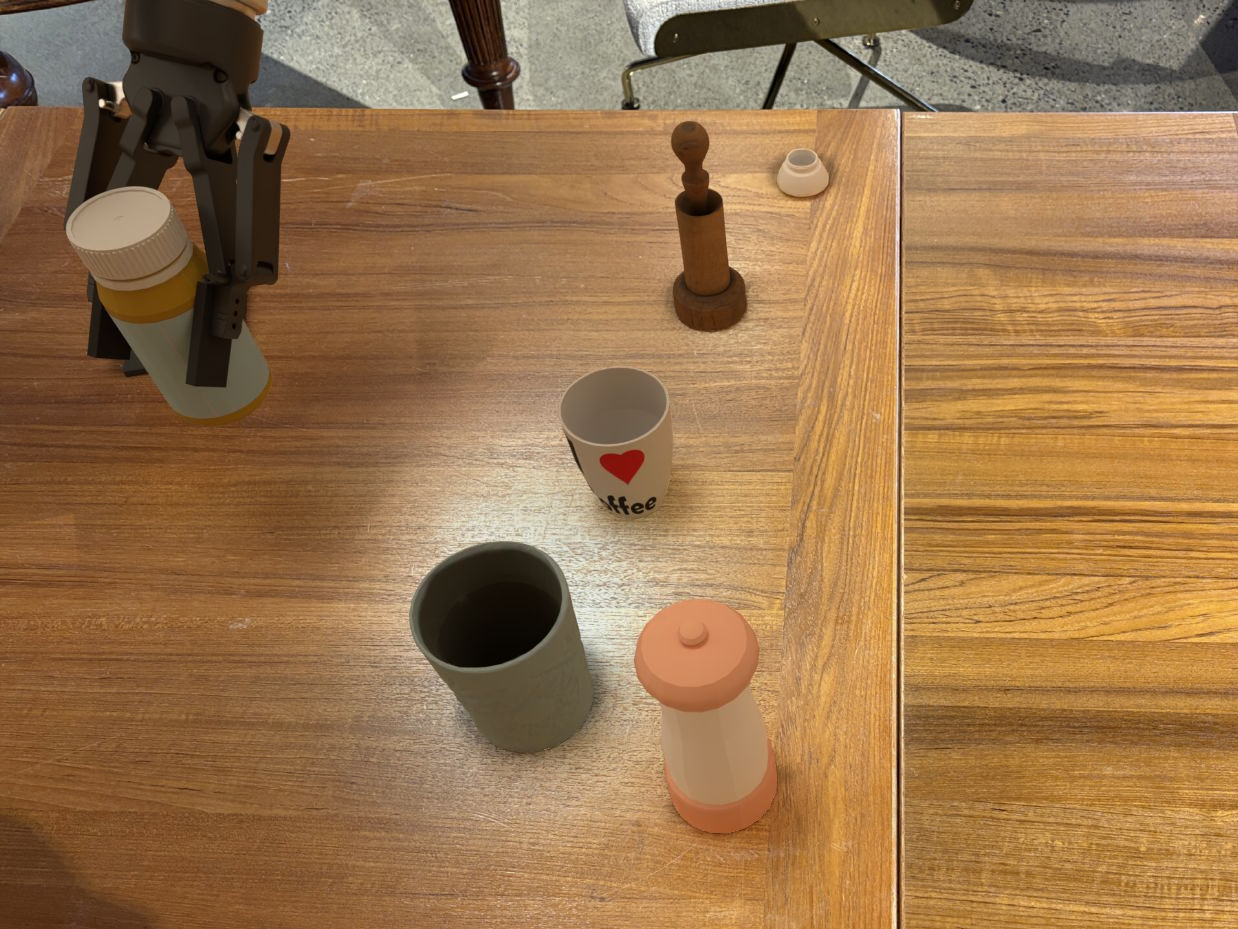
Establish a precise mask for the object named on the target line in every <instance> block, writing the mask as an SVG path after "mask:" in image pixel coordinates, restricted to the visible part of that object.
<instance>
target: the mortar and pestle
mask: <svg viewBox="0 0 1238 929" xmlns="http://www.w3.org/2000/svg"><path fill="white" fill-rule="evenodd" d="M709 136H710V135H709V134H708V132H707V129H706V128H705V127H704V126H703V125H702V124H700V122H697V121H694V120H686V121H682V122H680V123H679V124H677V125H676V126H675V128H674V129H673V131H672V133H671V136H670V146H671V149H672V152H673V153H674V155H675V156H676V157H677V159H678V160H679V161H680V162H681V163H682V165H683V166H684V171H683V173H682V174H681V176H680V180H681V183H682V186H683V189H684V190H683V191H681V192H680V193H679V194H677V196H676V197H675V199H674V208H675V216H676V221H677V226H678V228H677V229H678V234H679V242H680V249H681V257H682V265H683V271H682V272H680V273H679V274H678V275H677V276H676V277H675V279H674V281H673V284H672V297H673V305H674V310H675V314H676V316H677V317H678V319H679V320H680V321H681V322H682V323H683V324H684V325H685V326H688V327H689V328H692V329H694V330H698V331H704V332H713V331H720V330H724V329H727V328H730V327H732V326H734V325H736V324H737V323H739V322H740V321H741V320H742V319H743V317H744V316H745V314H746V312H747V309H748V301H747V291H746V289H747V288H746V282H745V280H744V277H743V276H742V274H740V272H739V271H738V270H736V269H735V268H733V267H731V266H730V263H729V253H728V244H727V233H726V220H725V209H724V200H723V197H722V195H721V194H720V193H719V192H718V191H716V190H714V189H712V188H709V187H710V173H709V172H708V171H707V170H706V169H704V168H703V164H704V161H705V159H706V157H707V155H708V152H709V149H710V137H709Z"/></svg>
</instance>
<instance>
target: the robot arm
mask: <svg viewBox="0 0 1238 929" xmlns="http://www.w3.org/2000/svg"><path fill="white" fill-rule="evenodd" d="M268 5H269V0H124V10H123V11H124V12H123V23H122V31H121V32H122V33H121V40H122V43H123V45H124V46H125V47H126V48H127V49H128V51H129V53H130V63H129V66H128V68H127V71H126V72H125V74H124V76H123V78H122V80H117V81H116V80H115V81H104V80H101V79H98V78H95V77H92V76H88V77H85V78H84V79H83V80H82V83H81V93H82V94H81V95H82V104H83V119H82V120H83V121H82V125H81V131H80V136H79V141H78V146H77V152H76V157H75V162H74V168H73V172H72V177H71V182H70V189H69V192H68V199H67V203H66V207H65V213H64V214H65V215H64V218H63V231H64V232H65V233H66V225H67V222H68V219H69V218H70V216H71V215H72V213H73V212H74V211H75V210H76V209H77V208H78V207H79V206H80V205H82V204H83V203H84V202H86V201H87V200H89V199H91V198H92V197H94V196H96V195H99V194H101V193H104V192H106V191H110V190H113V189H117V188H123V187H134V186H137V187H147V188H152V189H155V190H157V191H159V188H160V186H161V183H162V181H163V179H164V177H165V175H166V172H167V171H168V170H170V169H172V168H174V167H175V166H176V164H177V163H178V161H179V158H182V162H183V166H184V168H185V170H186V171H187V173H189V174H190V176H191V178H192V184H193V190H194V197H195V201H196V207H197V212H198V218H199V219H198V220H199V224H200V229H201V236H202V242H203V246H204V247H203V248H204V253H205V254H206V258H207V264H208V269H209V274H205V275H201V277H202V279H203V281H204V282H199V281H197V287H196V296H195V305H194V313H193V322H192V331H191V339H190V348H189V356H188V365H187V374H186V382H185V384H188V385H191V386H195V387H221V388H226V385H227V377H228V369H229V361H230V353H231V345H232V339H238V338H239V336H240V334H241V331H242V323H243V315H244V307H245V299H246V300H247V297H246V293H247V294H248V291H249V290H250V289H252V288H253V287H256V286H264V285H267V286H273V285H275V284H276V283H277V282H278V280H279V266H280V265H279V264H280V262H279V261H280V255H279V254H280V231H281V230H280V229H281V228H280V227H281V195H282V194H281V192H282V191H281V190H282V163H283V160H284V158H285V155H286V151H287V150H288V149H287V148H288V145H289V143H290V140H291V134H292V133H291V130H290V128H289V127H288V126H287V125H286V124H283V123H281V122H277V121H275V120H272V119H269V118H267V117H263V116H262V115H260V114H258V113H256V112H254V111H253V107H252V104H251V100H250V94H249V89H250V85H252V84H254V83H256V82H257V81H258V79H259V73H260V65H261V59H262V58H261V57H262V49H263V42H264V34H265V30H264V29H263V28H262V25H261V24H260V23H259V22H258V21H257V20H256V19H255V18H256V16H262V15H264V14H266V13H267V12H268ZM236 140H237V141H239V147H238V152H237V145H236ZM87 277H88V278H87V285H86V297H87V301H88V302H90V303H91V310H90V322H89V331H88V340H87V341H88V342H87V351H86V356H87V357H91V358H94V359H102V360H103V359H104V360H106V359H107V360H120V361H121V360H122V361H124V360H130V355H131V347H130V345H129V344H128V342H127V341H126V339H125V338H124V336H123V335H122V333H121V332H120V330H119V329H118V327H117V326H116V324H115V323H114V321H113V320H112V318H111V317H110V315H109V314H108V312H107V311H106V309H105V308H104V305H103V304H102V302H101V301H100V299H99V295H98V290H97V284H96V280H95V279H94V278H93V276H92V274H91V273H90V271H89V270H88V274H87Z"/></svg>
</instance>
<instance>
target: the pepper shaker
mask: <svg viewBox="0 0 1238 929" xmlns="http://www.w3.org/2000/svg"><path fill="white" fill-rule="evenodd" d="M760 648H761V647H760V645H759V642H758V638H757V635H756V632H755V630H754V629H753V627H752V626H751V625H750V623H749V622H748V621H747V620H746V618H745V617H744V615H743V614H742V613H740V612H739V611H737V610H736V609H734V608H733V607H731V606H730V605H728V604H725V603H723V602H719V601H716V600H713V599H708V598H689V599H686V600H685V599H684V600H681V601H676V602H674V603H672V604H670V605H669V606H667V607H665V608H663V609H661V610H660V611H658V612H657V613H656V614H655V615H654V616H653V617H652V618H651V619H649V621H648V622H646V623H645V625H644V627H643V629H642V630H641V632H640V634H639V636H638V637H637V640H636V646H635V652H634V659H633V663H634V668H635V673H636V678H637V680H638V681H639V682H640V684H641V685H642V687H643V689H644V690H645V692H646V693H647V694H649V695H650V696H651V697H652V698H654V699H655V700H656V701H658V702H659V706H660V711H661V717H660V718H661V719H660V720H661V721H660V744H661V749H662V753H663V757H664V763H663V772H664V777H665V781H666V786H667V789H668V792H669V795H670V799H671V802H672V805H673V807H674V806H675V807H674V809H675V808H676V809H675V811H676V812H677V811H678V812H677V814H678V815H679V814H680V815H679V816H680V818H681V817H682V818H683V819H684V820H683V819H682V818H681V819H682V820H683V821H685V820H686V821H687V822H688V823H687V822H686V821H685V822H686V823H687V824H689V823H690V824H691V825H692V826H693V827H692V826H691V825H690V824H689V825H690V826H691V827H692V828H694V827H695V828H694V829H696V828H698V829H697V830H699V829H701V830H700V831H702V830H704V831H707V832H710V833H709V834H711V833H729V834H731V833H730V832H733V831H737V830H741V829H744V828H746V827H748V826H749V825H751V824H753V823H754V822H756V821H758V820H759V819H760V818H761V817H762V816H763V814H764V813H765V812H766V811H767V810H768V809H769V808H770V809H771V807H770V806H772V805H771V803H772V804H773V802H774V800H775V798H776V796H775V794H776V795H777V791H776V788H777V789H778V772H777V762H776V757H775V752H774V748H773V745H772V742H771V740H770V739H769V737H768V734H767V732H768V731H767V726H766V723H765V719H764V717H763V714H762V712H761V710H760V708H759V706H758V703H757V701H756V699H755V697H754V694H753V692H752V688H751V686H752V685H751V681H752V679H753V677H754V674H755V673H756V671H757V668H758V667H759V659H760ZM774 797H775V798H774ZM773 799H774V800H773ZM772 801H773V802H772ZM770 809H769V810H770ZM769 810H768V811H769ZM768 811H767V812H768ZM767 812H766V813H767ZM766 813H765V814H766ZM765 814H764V815H765ZM763 817H764V816H763ZM763 817H762V818H763ZM762 818H761V819H762ZM761 819H760V820H761ZM760 820H759V821H760ZM759 821H758V822H759ZM756 823H757V822H756ZM754 824H755V823H754ZM754 824H753V825H754ZM751 826H752V825H751ZM749 827H750V826H749ZM749 827H748V828H749ZM746 829H747V828H746ZM744 830H745V829H744ZM704 831H703V832H704ZM741 831H742V830H741ZM707 832H706V833H707ZM737 832H738V831H737ZM733 833H734V832H733Z"/></svg>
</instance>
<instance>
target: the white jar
mask: <svg viewBox="0 0 1238 929" xmlns="http://www.w3.org/2000/svg"><path fill="white" fill-rule="evenodd" d="M829 177H830V174H829V172H828V170H827V169H826V167H825V166H824V164H823V162H822V161H821V159H820V158H819V156H818V154H817V152H815V151H814V150H812V149H810V148H807V147H806V148H804V147H803V148H802V147H801V148H796V149H792V150H791V151H789V152H788V153H787V155H786V158H785V160H784V161H783V163H782V164H781V166H780V168H779V171H778V172H777V178H776V184H777V186H778V188H779V190H781V191H782V192H783V193H785V194H787V195H789V196H794V197H797V198H799V197H801V198H802V197H803V198H805V197H807V198H808V197H811V196H816V195H817V194H819V193H822V192H823V191H824V190H825V189H826V188H827V186H829V179H830V178H829Z"/></svg>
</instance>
